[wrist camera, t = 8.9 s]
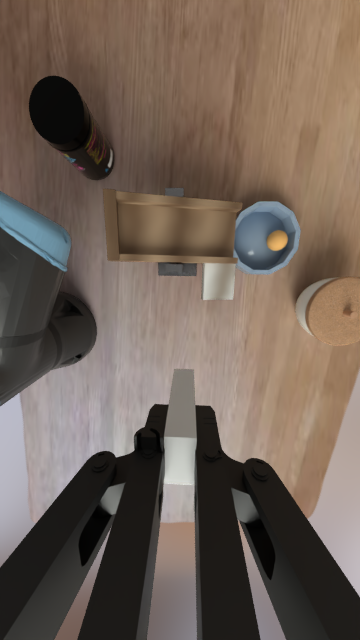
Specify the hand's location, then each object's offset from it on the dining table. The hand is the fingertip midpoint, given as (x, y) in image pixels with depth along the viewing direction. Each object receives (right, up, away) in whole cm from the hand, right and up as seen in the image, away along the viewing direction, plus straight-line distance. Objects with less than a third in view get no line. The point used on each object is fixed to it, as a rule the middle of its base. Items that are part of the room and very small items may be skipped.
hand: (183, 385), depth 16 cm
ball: (+16, +18, +18) cm, 30 cm away
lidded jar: (+25, +8, +22) cm, 35 cm away
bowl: (+14, +19, +20) cm, 31 cm away
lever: (-1, +15, +14) cm, 20 cm away
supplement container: (-14, +32, +18) cm, 40 cm away
